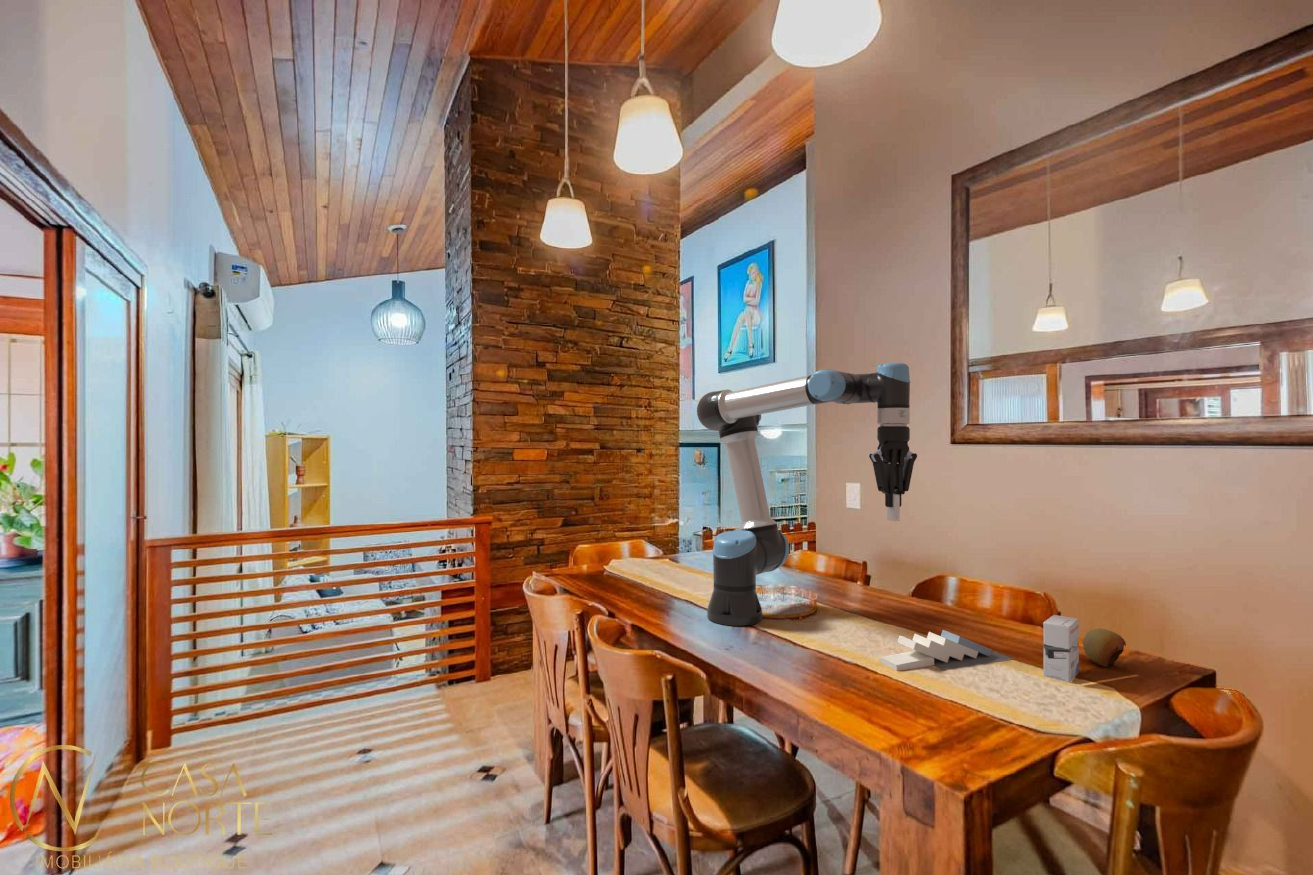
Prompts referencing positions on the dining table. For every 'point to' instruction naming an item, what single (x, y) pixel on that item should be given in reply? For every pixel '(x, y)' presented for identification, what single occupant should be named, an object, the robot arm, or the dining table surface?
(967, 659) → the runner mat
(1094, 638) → the fruit
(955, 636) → the domino
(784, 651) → the dining table surface
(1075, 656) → the ink box
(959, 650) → the domino
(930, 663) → the domino
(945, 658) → the domino
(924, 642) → the domino
